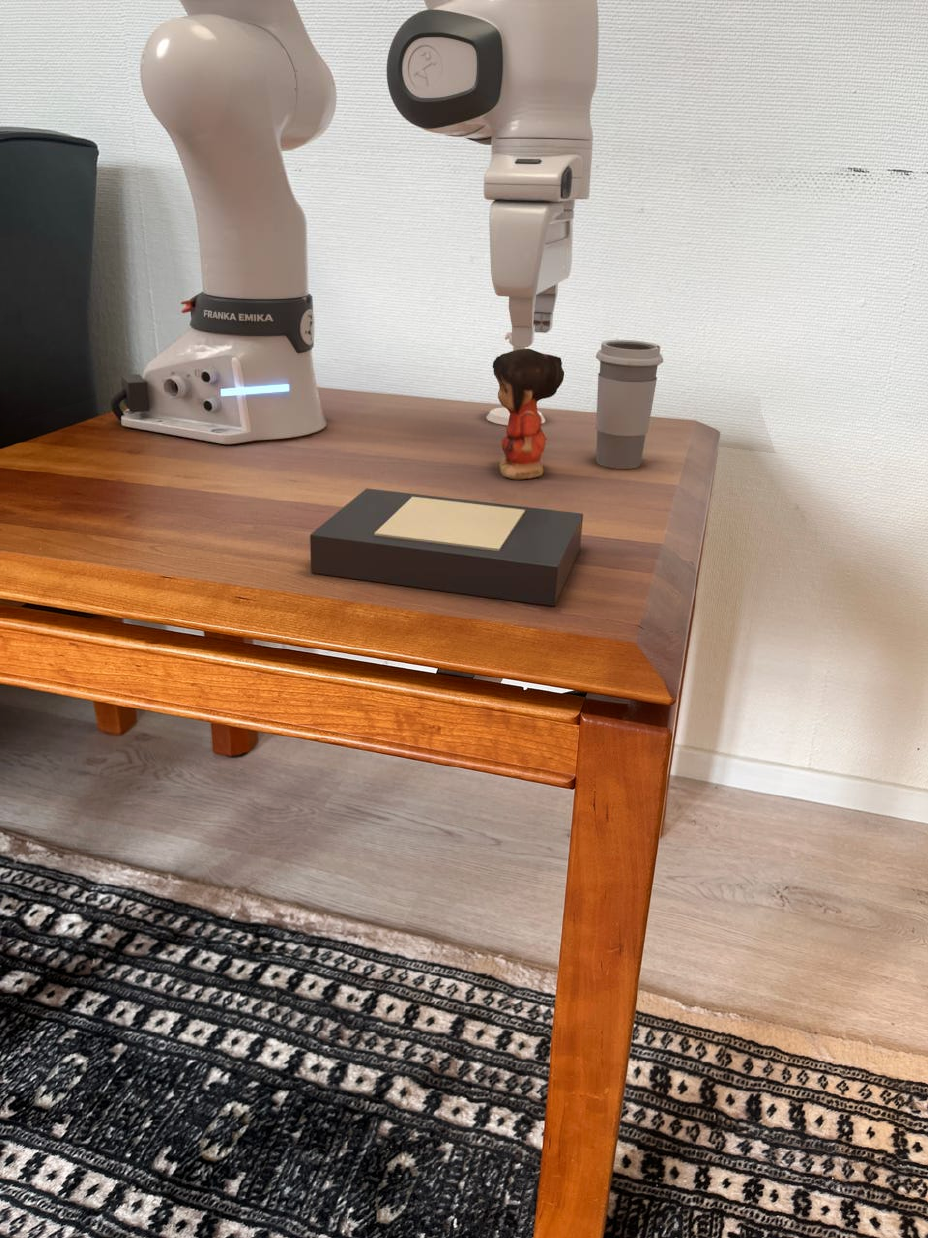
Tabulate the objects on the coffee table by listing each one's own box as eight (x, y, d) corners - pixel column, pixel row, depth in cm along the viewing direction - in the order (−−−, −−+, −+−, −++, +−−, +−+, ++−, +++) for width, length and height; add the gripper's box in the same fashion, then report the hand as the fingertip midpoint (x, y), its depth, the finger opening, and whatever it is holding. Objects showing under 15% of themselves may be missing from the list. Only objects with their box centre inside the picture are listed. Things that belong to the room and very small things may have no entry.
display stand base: (310, 573, 72) (309, 531, 70) (366, 522, 82) (366, 485, 81) (554, 606, 68) (558, 563, 67) (580, 549, 79) (583, 510, 77)
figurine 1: (491, 410, 122) (496, 309, 117) (548, 414, 121) (556, 313, 116) (481, 423, 116) (486, 317, 111) (541, 428, 115) (549, 321, 110)
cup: (649, 475, 99) (664, 352, 94) (582, 469, 100) (594, 347, 95) (651, 457, 105) (665, 341, 100) (589, 451, 106) (599, 336, 101)
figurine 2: (524, 460, 102) (532, 341, 97) (562, 473, 98) (572, 350, 93) (477, 469, 98) (483, 345, 93) (514, 483, 94) (522, 355, 89)
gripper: (528, 176, 97) (521, 322, 102) (478, 175, 79) (474, 352, 84) (592, 178, 95) (582, 325, 101) (556, 177, 77) (546, 357, 83)
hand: (532, 338), depth 93 cm, fingers open, 8 cm apart
